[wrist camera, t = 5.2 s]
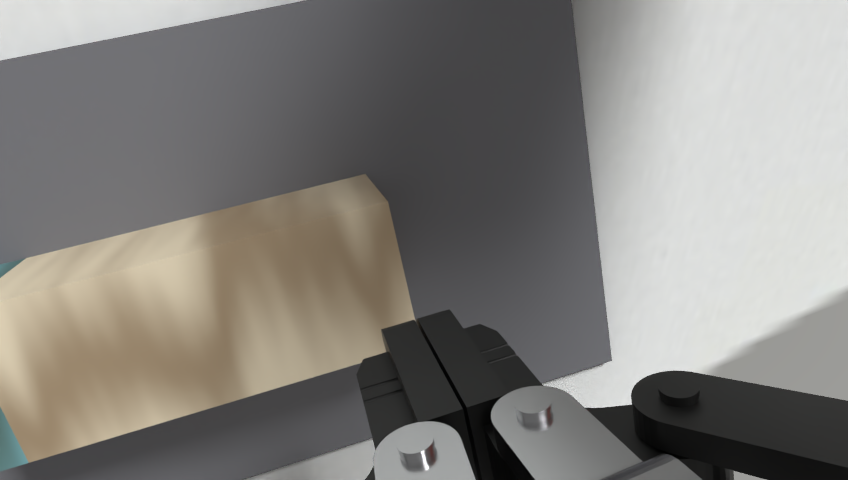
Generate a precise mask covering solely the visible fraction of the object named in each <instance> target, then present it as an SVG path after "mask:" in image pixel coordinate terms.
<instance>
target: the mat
mask: <svg viewBox="0 0 848 480" xmlns="http://www.w3.org/2000/svg"><path fill="white" fill-rule="evenodd" d="M363 174H366V175H367V177H368V178H369V179H370V180H371V182H372V183H373V184H374V185H375V186H376V188H377V189H378V190H379V191H380V192H381V194H382V195H383V196H384V197H385V199H386V200H387V201H388V204H389V208H390V213H391V217H392V222H393V226H394V230H395V235H396V239H397V243H398V248H399V252H400V256H401V261H402V265H403V269H404V274H405V278H406V282H407V287H408V291H409V296H410V300H411V304H412V309H413V313H414V317H415V322H416V319H417V318H421V317H424V316H428V315H431V314H434V313H438V312H441V311H444V310H448V309H450V310H451V312H452V313H453V314H454V316H455V317H456V319H457V320H458V321H459V323H460V324H461V326H462V327H463V328H467V327H470V326H474V325H477V324H482V325H484V326H486V327H489V328H491V329H493V330H496V331H498V332H499V334H500V335H501V336H502V337H503V338H504V340H505V341H506V342H507V343H508V346H510V347H511V348H512V349H513V350H514V352H515V353H516V355H517V356H519V357H520V359H521V360H522V361H523V362H524V363H525V365H526V366H527V367H528V368H529V369H530V371H531V372H532V373H533V374H534V375H535V377H536V378H537V379H538V380H539V381H540V383H544V382H547V381H550V380H553V379H556V378H559V377H563V376H566V375H569V374H572V373H575V372H578V371H581V370H584V369H587V368H590V367H594V366H597V365H600V364H603V363H606V362H609V361H612V358H611V349H610V340H609V331H608V322H607V313H606V304H605V296H604V287H603V278H602V269H601V260H600V251H599V242H598V234H597V225H596V216H595V207H594V198H593V189H592V180H591V172H590V163H589V154H588V145H587V136H586V127H585V118H584V110H583V101H582V92H581V83H580V74H579V65H578V56H577V48H576V39H575V30H574V21H573V12H572V3H571V0H306V1H301V2H296V3H291V4H286V5H281V6H276V7H271V8H266V9H261V10H255V11H250V12H245V13H240V14H235V15H230V16H225V17H220V18H215V19H210V20H205V21H200V22H195V23H189V24H184V25H179V26H174V27H169V28H164V29H159V30H154V31H149V32H144V33H139V34H134V35H129V36H123V37H118V38H113V39H108V40H103V41H98V42H93V43H88V44H83V45H78V46H73V47H68V48H63V49H58V50H52V51H47V52H42V53H37V54H32V55H27V56H22V57H17V58H12V59H7V60H2V61H0V265H1V264H5V263H9V262H13V261H17V260H21V259H25V258H29V257H33V256H37V255H41V254H45V253H49V252H53V251H57V250H61V249H65V248H69V247H73V246H77V245H81V244H85V243H89V242H93V241H97V240H101V239H105V238H109V237H113V236H117V235H121V234H126V233H130V232H134V231H138V230H142V229H146V228H150V227H154V226H158V225H162V224H166V223H170V222H174V221H178V220H182V219H186V218H190V217H194V216H198V215H202V214H206V213H210V212H214V211H218V210H222V209H226V208H230V207H234V206H238V205H242V204H246V203H250V202H254V201H258V200H262V199H266V198H270V197H274V196H278V195H282V194H286V193H290V192H295V191H299V190H303V189H307V188H311V187H315V186H319V185H323V184H327V183H331V182H335V181H339V180H343V179H347V178H351V177H355V176H359V175H363ZM360 365H361V363H359V364H356V365H353V366H349V367H346V368H343V369H339V370H336V371H333V372H329V373H326V374H323V375H319V376H316V377H313V378H309V379H306V380H303V381H299V382H296V383H293V384H289V385H286V386H283V387H279V388H276V389H273V390H269V391H266V392H263V393H259V394H256V395H253V396H249V397H246V398H243V399H239V400H236V401H233V402H230V403H226V404H223V405H220V406H216V407H213V408H210V409H206V410H203V411H200V412H196V413H193V414H190V415H186V416H183V417H180V418H176V419H173V420H170V421H166V422H163V423H160V424H156V425H153V426H150V427H146V428H143V429H140V430H136V431H133V432H130V433H126V434H123V435H120V436H116V437H113V438H110V439H106V440H103V441H100V442H97V443H93V444H90V445H87V446H83V447H80V448H77V449H73V450H70V451H67V452H63V453H60V454H57V455H53V456H50V457H47V458H43V459H40V460H37V461H33V462H30V463H27V464H23V465H20V466H17V467H13V468H10V469H7V470H3V471H0V480H243V479H246V478H249V477H253V476H256V475H259V474H262V473H265V472H268V471H271V470H274V469H277V468H280V467H284V466H287V465H290V464H293V463H296V462H299V461H302V460H305V459H308V458H311V457H315V456H318V455H321V454H324V453H327V452H330V451H333V450H336V449H339V448H342V447H346V446H349V445H352V444H355V443H358V442H361V441H364V440H367V439H370V438H372V434H371V430H370V426H369V423H368V419H367V415H366V411H365V407H364V403H363V399H362V395H361V391H360V387H359V383H358V379H357V376H356V374H357V372H358V369H359V367H360Z"/></svg>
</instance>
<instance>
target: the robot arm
mask: <svg viewBox="0 0 848 480" xmlns="http://www.w3.org/2000/svg"><path fill="white" fill-rule="evenodd" d="M381 333H382V338H383V342H384V346H385V349H386V352H385V353H382V354H378V355H375V356H372V357H368V358H365V359H363V360H362V363H361V365H360V367H359V369H358V372H357V374H356V376H357V379H358V383H359V387H360V391H361V395H362V399H363V403H364V407H365V411H366V415H367V419H368V423H369V426H370V430H371V434H372V438H373V442H374V446H375V453H374V457H373V464H374V466H373V468H372V470H371V472H370V474H369V475H368V476H367V478H366V479H365V480H734V474H733V471H737V472H741V473H744V474H748V475H752V476H756V477H759V478H763V479H767V480H848V401H845V400H840V399H835V398H829V397H824V396H818V395H813V394H808V393H802V392H797V391H791V390H786V389H781V388H775V387H770V386H764V385H759V384H753V383H747V382H743V381H737V380H732V379H726V378H721V377H715V376H710V375H705V374H699V373H694V372H687V371H666V372H659V373H655V374H652V375H649V376H647V377H645V378H643V379H642V380H640V381H639V382H638V383H637V384H636V385H635V386H634V388H633V390H632V394H631V398H632V405H625V406H615V407H605V408H584V407H583V406H582V405H581V404H580V403H579V402H578V401H577V400H576V399H575V398H574V397H572V396H571V395H570V394H569V393H567V392H565V391H563V390H561V389H558V388H554V387H549V386H543V385H542V384H541V383H540V381H539V380H538V379H537V378H536V377H535V375H534V374H533V373H532V372H531V371H530V369H529V368H528V367H527V366H526V365H525V363H524V362H523V361H522V360H521V359H520V357H519V356H517V355H516V353H515V352H514V350H513V349H512V348H511V347H510V346H508V343H507V342H506V341H505V340H504V338H503V337H502V336H501V335H500V334H499V332H498V331H496V330H493V329H491V328H489V327H486V326H484V325H482V324H477V325H474V326H470V327H467V328H463V327H462V326H461V324H460V323H459V321H458V320H457V319H456V317H455V316H454V314H453V313H452V312H451V310H450V309H448V310H444V311H441V312H438V313H434V314H431V315H428V316H424V317H421V318H417V319H416V322H415V320H411V321H408V322H404V323H401V324H397V325H394V326H391V327H387V328H384V329H381Z"/></svg>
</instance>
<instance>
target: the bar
mask: <svg viewBox="0 0 848 480" xmlns="http://www.w3.org/2000/svg"><path fill="white" fill-rule="evenodd" d="M411 320H415V317H414V313H413V309H412V304H411V300H410V296H409V291H408V287H407V282H406V278H405V274H404V269H403V265H402V261H401V256H400V252H399V248H398V243H397V239H396V235H395V230H394V226H393V222H392V217H391V213H390V208H389V204H388V201H387V200H386V199H385V197H384V196H383V195H382V194H381V192H380V191H379V190H378V189H377V188H376V186H375V185H374V184H373V183H372V182H371V180H370V179H369V178H368V177H367V175H366V174H363V175H359V176H355V177H351V178H347V179H343V180H339V181H335V182H331V183H327V184H323V185H319V186H315V187H311V188H307V189H303V190H299V191H295V192H290V193H286V194H282V195H278V196H274V197H270V198H266V199H262V200H258V201H254V202H250V203H246V204H242V205H238V206H234V207H230V208H226V209H222V210H218V211H214V212H210V213H206V214H202V215H198V216H194V217H190V218H186V219H182V220H178V221H174V222H170V223H166V224H162V225H158V226H154V227H150V228H146V229H142V230H138V231H134V232H130V233H126V234H121V235H117V236H113V237H109V238H105V239H101V240H97V241H93V242H89V243H85V244H81V245H77V246H73V247H69V248H65V249H61V250H57V251H53V252H49V253H45V254H41V255H37V256H33V257H29V258H25V259H21V260H17V261H13V262H9V263H5V264H1V265H0V471H3V470H7V469H10V468H13V467H17V466H20V465H23V464H27V463H30V462H33V461H37V460H40V459H43V458H47V457H50V456H53V455H57V454H60V453H63V452H67V451H70V450H73V449H77V448H80V447H83V446H87V445H90V444H93V443H97V442H100V441H103V440H106V439H110V438H113V437H116V436H120V435H123V434H126V433H130V432H133V431H136V430H140V429H143V428H146V427H150V426H153V425H156V424H160V423H163V422H166V421H170V420H173V419H176V418H180V417H183V416H186V415H190V414H193V413H196V412H200V411H203V410H206V409H210V408H213V407H216V406H220V405H223V404H226V403H230V402H233V401H236V400H239V399H243V398H246V397H249V396H253V395H256V394H259V393H263V392H266V391H269V390H273V389H276V388H279V387H283V386H286V385H289V384H293V383H296V382H299V381H303V380H306V379H309V378H313V377H316V376H319V375H323V374H326V373H329V372H333V371H336V370H339V369H343V368H346V367H349V366H353V365H356V364H359V363H362V360H363V359H365V358H368V357H372V356H375V355H378V354H382V353H385V352H386V349H385V346H384V342H383V338H382V333H381V329H384V328H387V327H391V326H394V325H397V324H401V323H404V322H408V321H411Z"/></svg>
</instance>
